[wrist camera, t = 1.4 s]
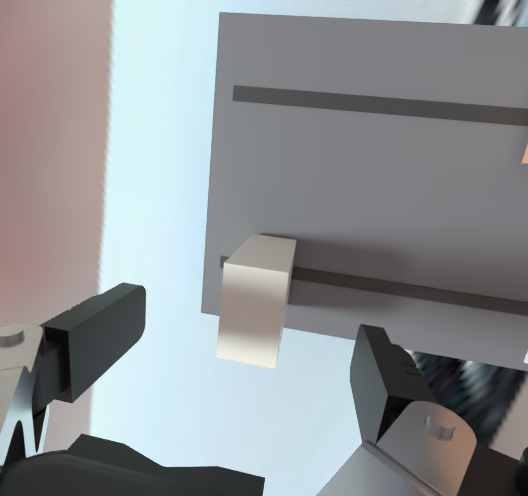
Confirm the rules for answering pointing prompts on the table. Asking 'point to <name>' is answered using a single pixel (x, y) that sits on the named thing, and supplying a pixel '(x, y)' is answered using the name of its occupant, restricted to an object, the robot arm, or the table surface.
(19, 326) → the robot arm
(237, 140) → the fader panel
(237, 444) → the table surface
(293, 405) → the table surface
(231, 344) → the cream fader
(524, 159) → the block
